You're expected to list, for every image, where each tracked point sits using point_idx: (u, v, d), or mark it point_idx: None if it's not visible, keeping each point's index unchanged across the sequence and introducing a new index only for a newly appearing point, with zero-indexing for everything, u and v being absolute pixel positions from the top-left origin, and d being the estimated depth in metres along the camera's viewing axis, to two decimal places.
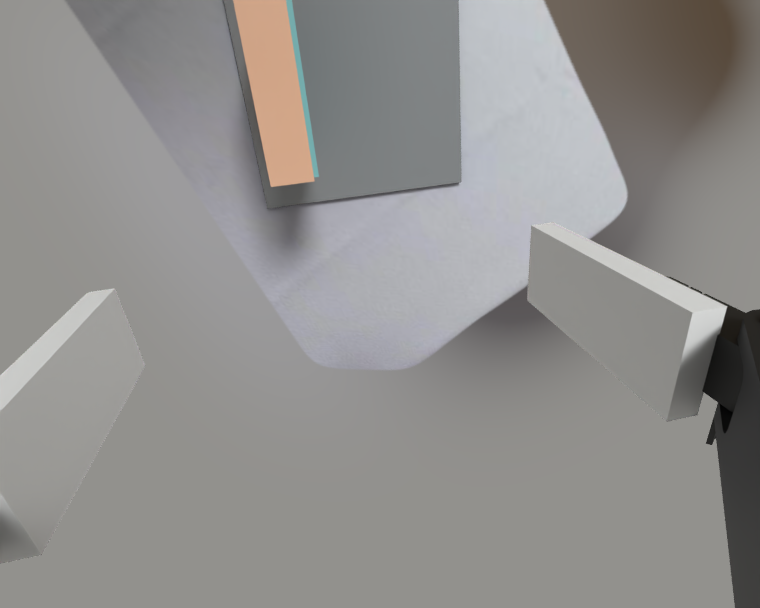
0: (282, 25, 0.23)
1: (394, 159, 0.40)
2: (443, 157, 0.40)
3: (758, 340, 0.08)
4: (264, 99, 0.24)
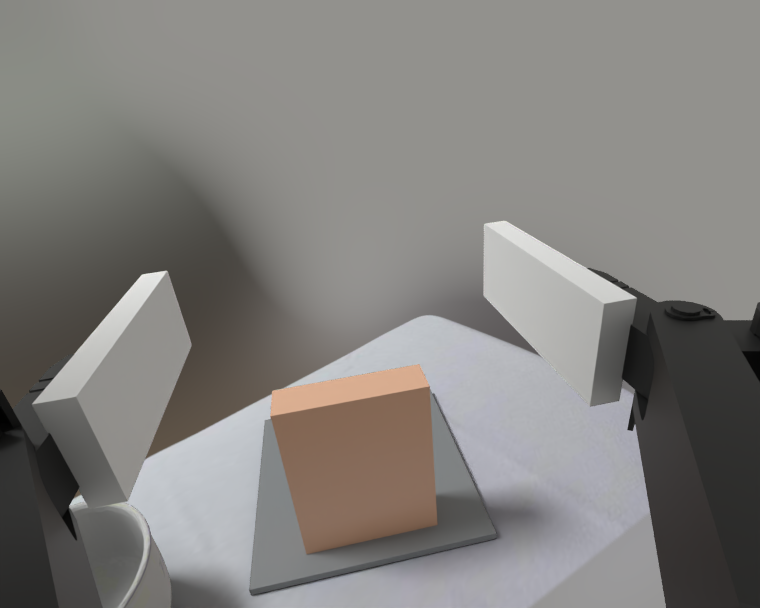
0: (302, 388, 0.29)
1: None
2: None
3: (664, 331, 0.08)
4: (355, 394, 0.28)
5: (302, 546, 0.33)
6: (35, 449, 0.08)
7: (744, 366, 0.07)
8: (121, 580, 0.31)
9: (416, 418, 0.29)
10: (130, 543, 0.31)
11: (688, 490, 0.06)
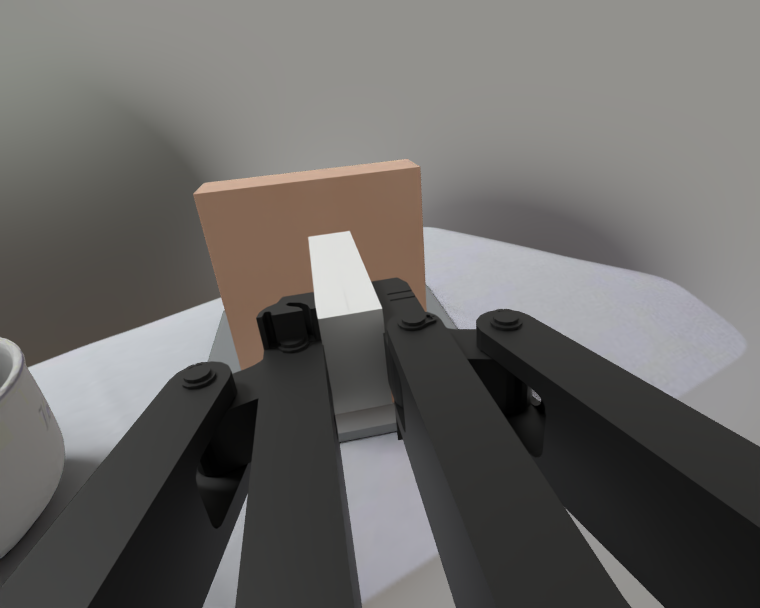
0: (245, 179, 0.21)
1: None
2: None
3: (401, 346, 0.09)
4: (316, 176, 0.20)
5: None
6: None
7: (465, 363, 0.08)
8: None
9: (402, 220, 0.21)
10: None
11: (448, 507, 0.06)
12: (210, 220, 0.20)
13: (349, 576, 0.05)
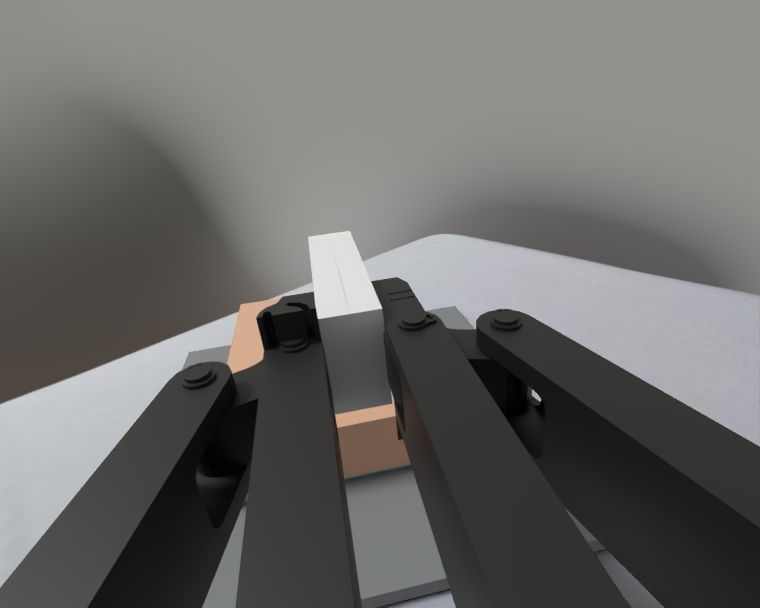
0: None
1: None
2: None
3: (401, 345, 0.09)
4: None
5: None
6: None
7: (465, 363, 0.08)
8: None
9: None
10: None
11: (448, 507, 0.06)
12: (245, 311, 0.27)
13: (349, 576, 0.05)
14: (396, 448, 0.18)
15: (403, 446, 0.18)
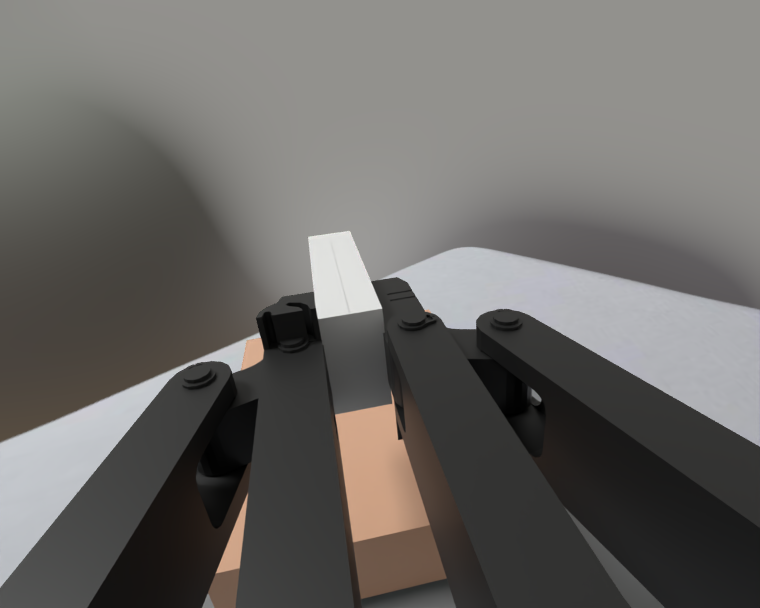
0: None
1: None
2: None
3: (401, 346, 0.09)
4: None
5: None
6: None
7: (465, 363, 0.08)
8: None
9: None
10: None
11: (448, 507, 0.06)
12: (252, 350, 0.23)
13: (349, 576, 0.05)
14: None
15: None
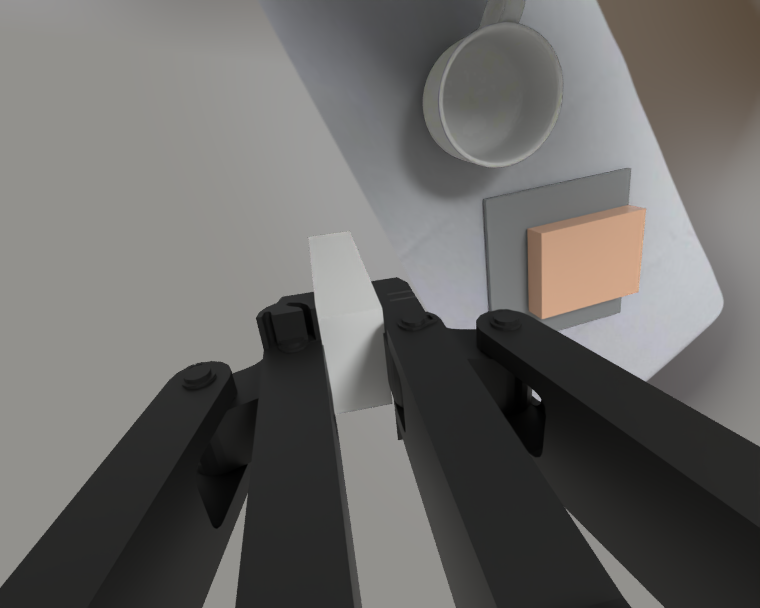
0: None
1: None
2: None
3: (401, 345, 0.09)
4: None
5: (507, 229, 0.48)
6: None
7: (465, 363, 0.08)
8: (506, 103, 0.42)
9: (622, 289, 0.52)
10: (528, 115, 0.41)
11: (448, 507, 0.06)
12: (636, 214, 0.49)
13: (349, 576, 0.05)
14: (533, 289, 0.50)
15: (533, 292, 0.50)
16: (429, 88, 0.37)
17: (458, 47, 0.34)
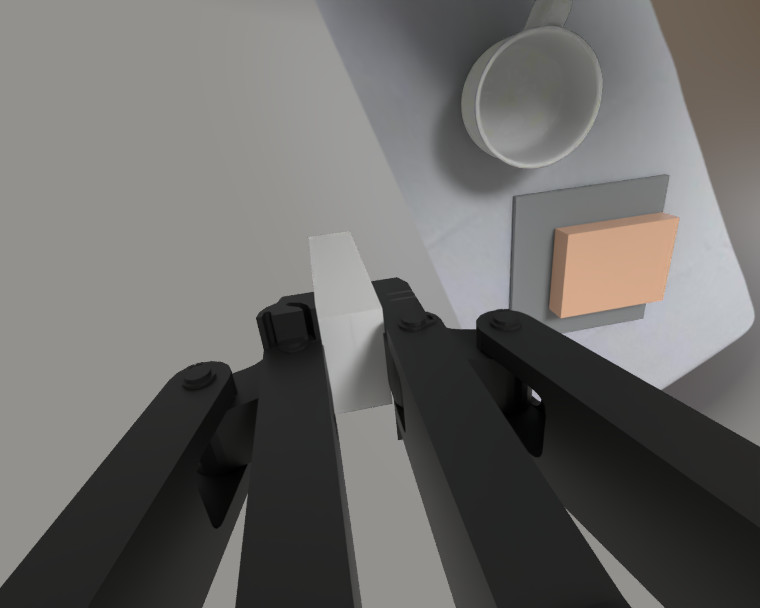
0: None
1: None
2: None
3: (401, 346, 0.09)
4: None
5: (535, 228, 0.49)
6: None
7: (465, 363, 0.08)
8: (545, 103, 0.43)
9: (646, 295, 0.52)
10: (566, 117, 0.41)
11: (448, 507, 0.06)
12: (668, 222, 0.48)
13: (349, 576, 0.05)
14: (555, 288, 0.51)
15: (555, 291, 0.51)
16: (468, 86, 0.38)
17: (499, 49, 0.34)
